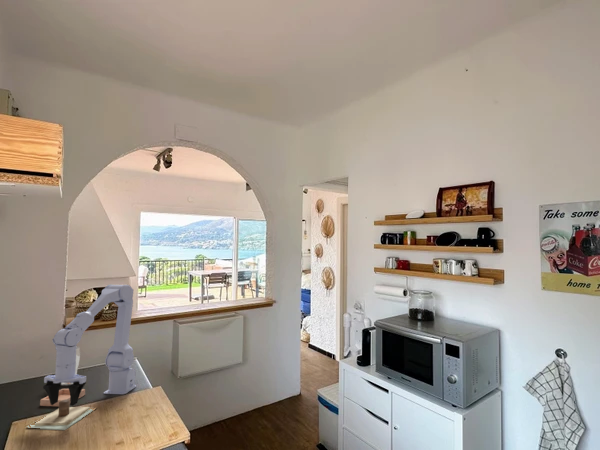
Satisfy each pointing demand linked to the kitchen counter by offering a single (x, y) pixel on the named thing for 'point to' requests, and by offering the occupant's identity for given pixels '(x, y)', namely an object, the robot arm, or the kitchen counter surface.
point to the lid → (63, 414)
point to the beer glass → (76, 364)
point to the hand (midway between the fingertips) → (64, 403)
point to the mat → (61, 427)
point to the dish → (59, 397)
